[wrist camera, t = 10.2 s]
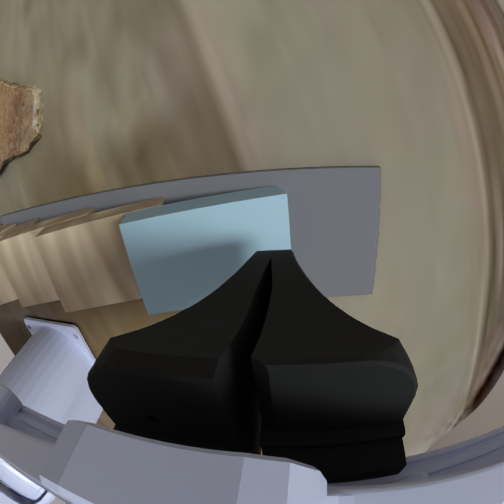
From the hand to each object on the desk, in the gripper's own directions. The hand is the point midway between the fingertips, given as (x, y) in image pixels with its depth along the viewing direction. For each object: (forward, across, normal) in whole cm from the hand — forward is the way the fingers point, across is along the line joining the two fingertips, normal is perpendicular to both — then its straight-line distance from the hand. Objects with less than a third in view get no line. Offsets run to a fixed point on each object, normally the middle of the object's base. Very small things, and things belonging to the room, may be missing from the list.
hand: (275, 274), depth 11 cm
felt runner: (+4, +8, 0) cm, 9 cm away
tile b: (+3, +10, 0) cm, 10 cm away
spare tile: (+3, 0, 0) cm, 3 cm away
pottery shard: (+5, +20, -11) cm, 24 cm away
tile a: (+3, +5, 0) cm, 6 cm away
